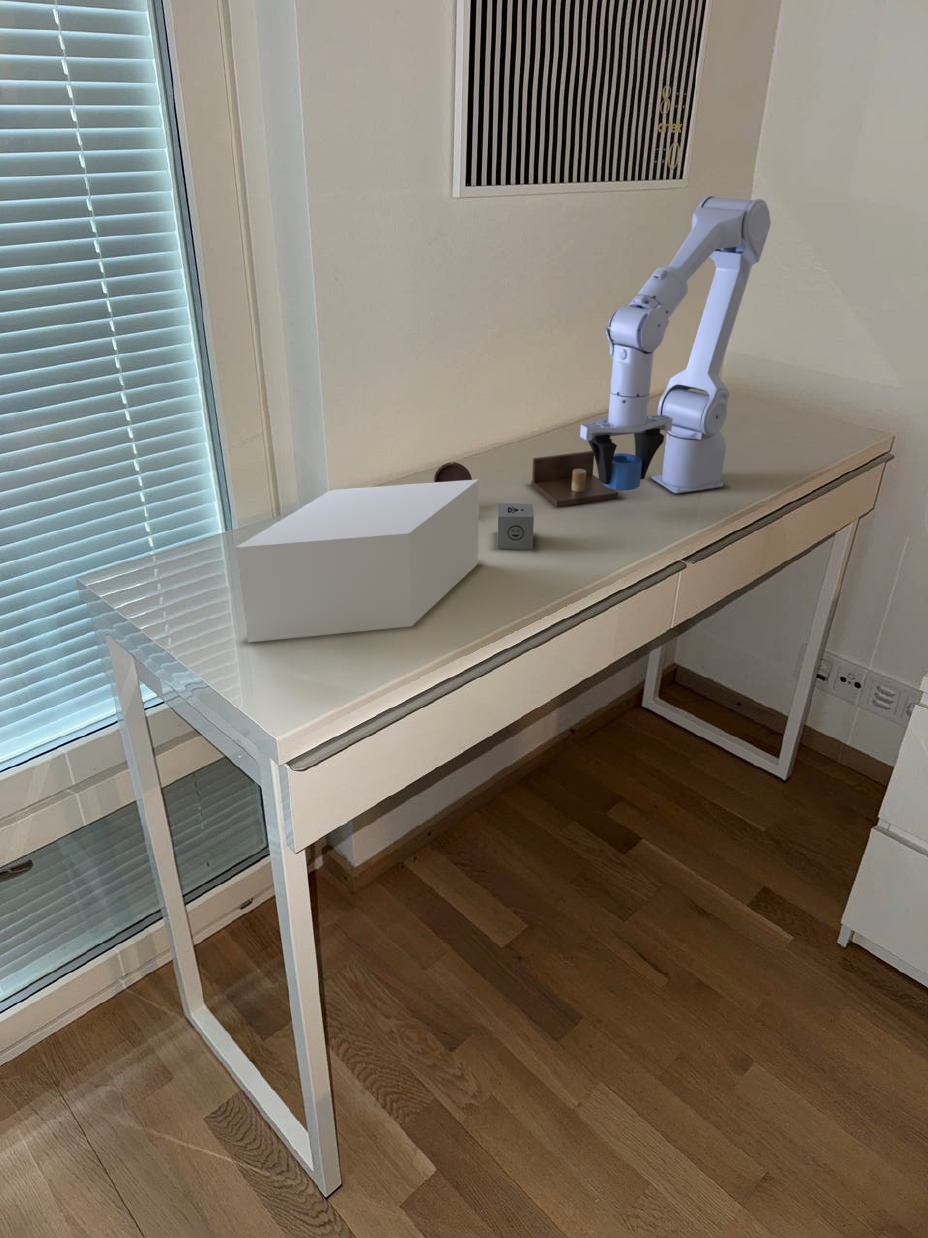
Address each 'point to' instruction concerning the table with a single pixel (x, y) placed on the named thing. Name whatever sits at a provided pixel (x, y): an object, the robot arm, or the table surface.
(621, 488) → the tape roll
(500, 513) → the dice cube
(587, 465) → the holder
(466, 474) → the compass
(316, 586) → the block
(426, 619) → the table surface
